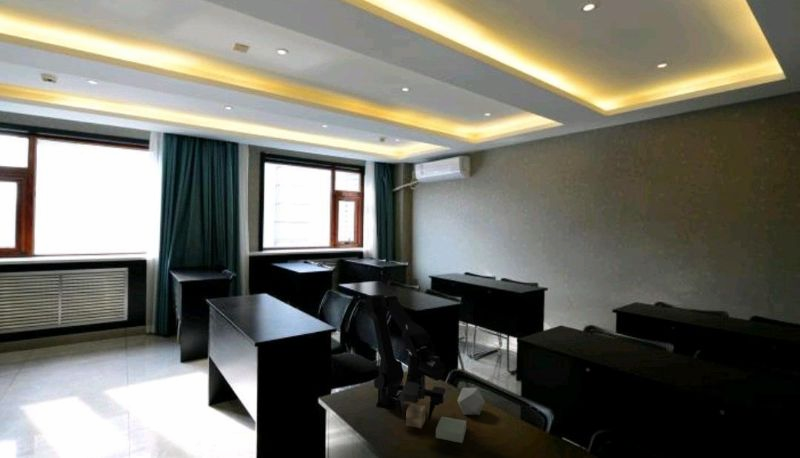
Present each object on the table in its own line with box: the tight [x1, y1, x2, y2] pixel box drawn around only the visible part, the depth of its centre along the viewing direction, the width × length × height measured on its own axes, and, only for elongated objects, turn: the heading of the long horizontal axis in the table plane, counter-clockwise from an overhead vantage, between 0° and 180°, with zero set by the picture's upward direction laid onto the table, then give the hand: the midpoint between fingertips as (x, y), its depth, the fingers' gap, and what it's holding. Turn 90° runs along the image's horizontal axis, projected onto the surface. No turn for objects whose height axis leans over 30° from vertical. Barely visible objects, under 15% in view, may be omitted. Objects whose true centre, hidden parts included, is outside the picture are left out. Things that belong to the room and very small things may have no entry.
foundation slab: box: [435, 416, 467, 444], centre depth 116 cm, size 8×8×3 cm
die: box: [457, 387, 486, 416], centre depth 129 cm, size 8×9×10 cm
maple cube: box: [405, 402, 426, 429], centre depth 122 cm, size 5×5×5 cm
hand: (415, 417), depth 122 cm, fingers open, 9 cm apart
